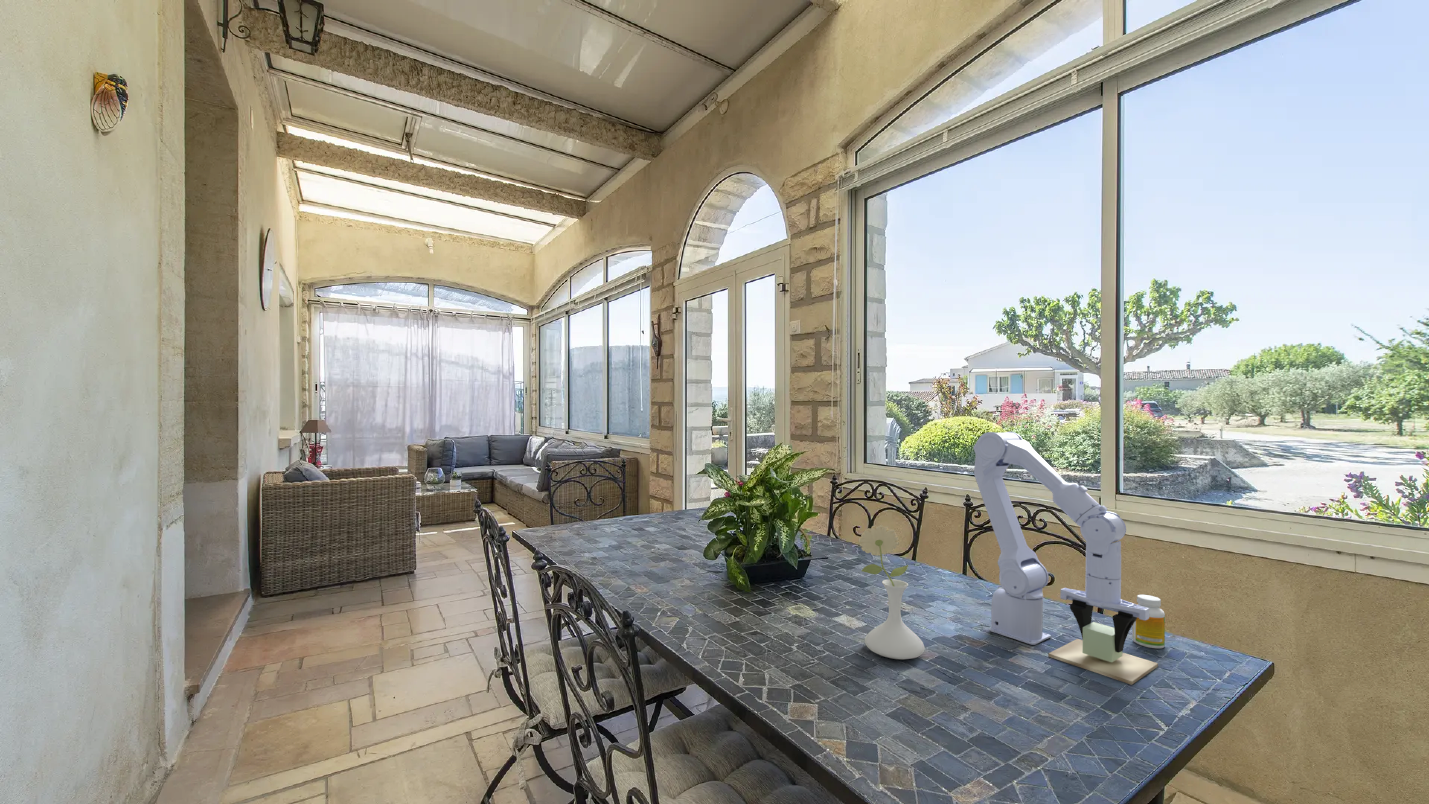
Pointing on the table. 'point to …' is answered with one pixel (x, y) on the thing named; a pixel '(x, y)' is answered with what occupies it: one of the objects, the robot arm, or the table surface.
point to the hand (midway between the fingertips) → (1102, 645)
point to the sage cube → (1100, 642)
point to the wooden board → (1105, 663)
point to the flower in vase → (893, 633)
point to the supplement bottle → (1150, 624)
